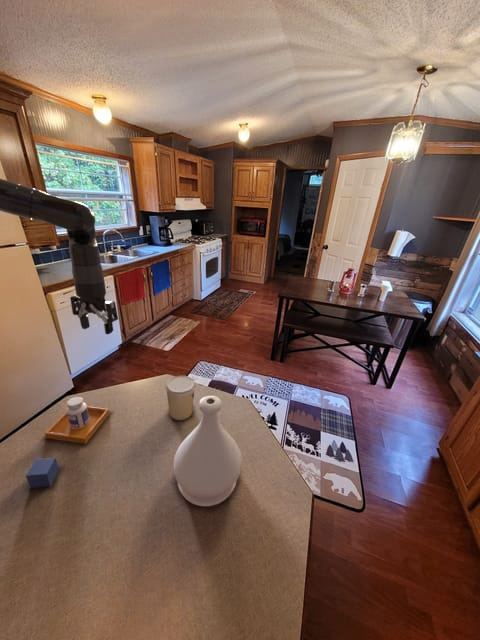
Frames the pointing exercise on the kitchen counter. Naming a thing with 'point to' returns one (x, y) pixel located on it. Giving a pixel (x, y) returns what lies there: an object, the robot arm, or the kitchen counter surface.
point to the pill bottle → (77, 413)
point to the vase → (207, 459)
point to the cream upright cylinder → (180, 396)
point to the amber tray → (66, 433)
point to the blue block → (42, 472)
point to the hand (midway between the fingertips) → (97, 330)
